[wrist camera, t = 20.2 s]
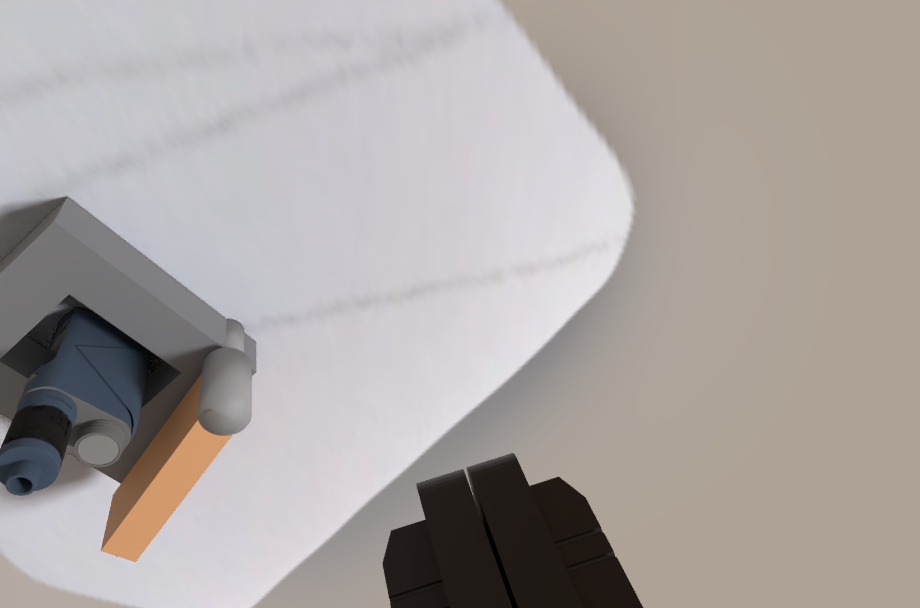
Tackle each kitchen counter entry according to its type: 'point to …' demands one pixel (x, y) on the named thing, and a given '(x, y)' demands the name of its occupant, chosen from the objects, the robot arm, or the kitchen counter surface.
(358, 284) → the kitchen counter surface
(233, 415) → the orange bar
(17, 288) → the socket block
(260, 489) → the kitchen counter surface
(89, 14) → the kitchen counter surface
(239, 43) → the kitchen counter surface
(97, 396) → the vaping device
